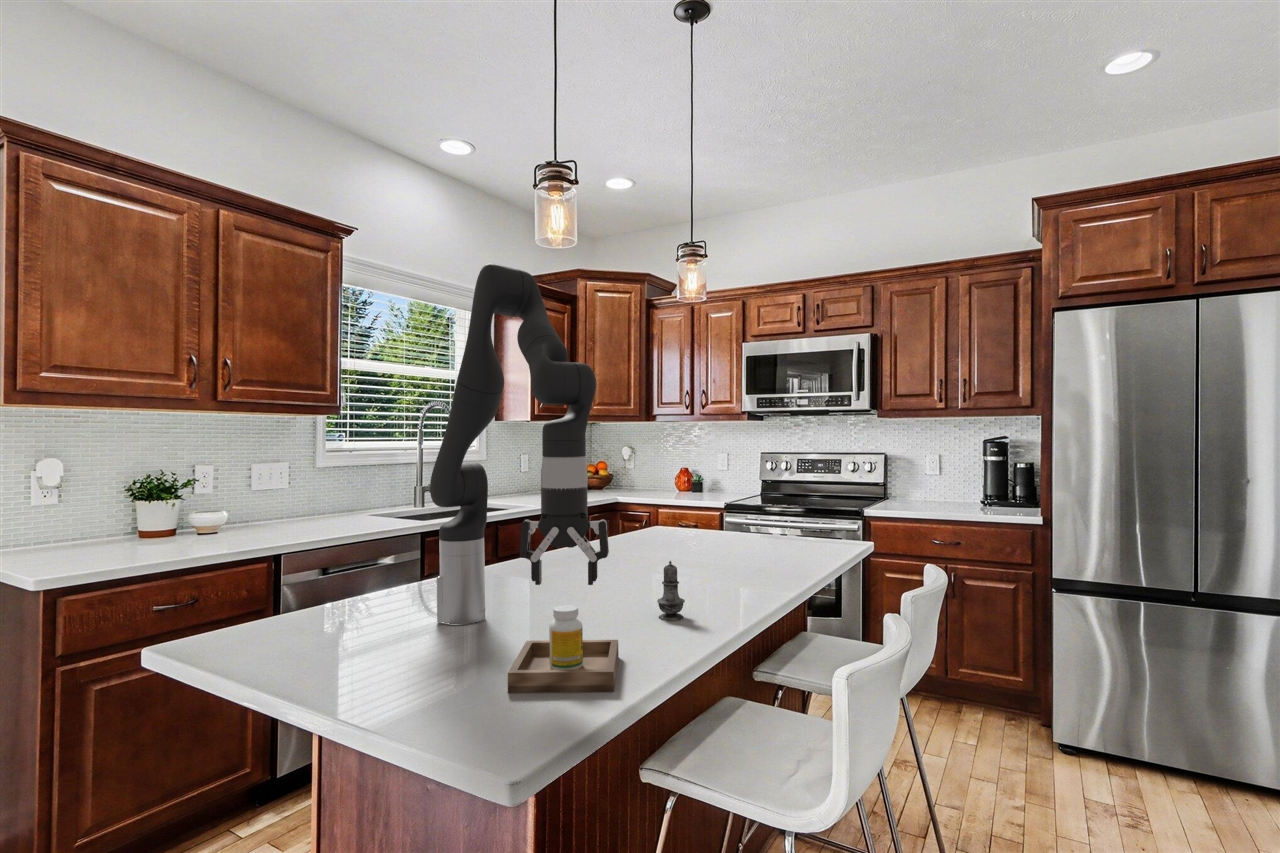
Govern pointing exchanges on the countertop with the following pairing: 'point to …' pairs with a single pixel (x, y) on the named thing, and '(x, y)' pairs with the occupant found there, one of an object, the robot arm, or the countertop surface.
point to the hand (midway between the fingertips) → (564, 584)
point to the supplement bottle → (566, 639)
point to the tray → (539, 677)
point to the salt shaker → (670, 595)
